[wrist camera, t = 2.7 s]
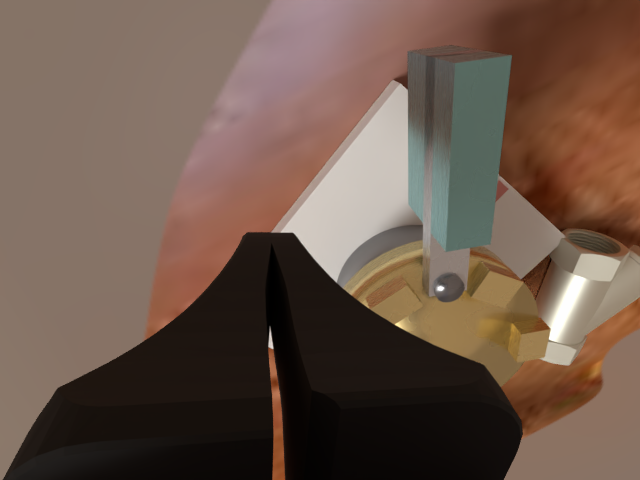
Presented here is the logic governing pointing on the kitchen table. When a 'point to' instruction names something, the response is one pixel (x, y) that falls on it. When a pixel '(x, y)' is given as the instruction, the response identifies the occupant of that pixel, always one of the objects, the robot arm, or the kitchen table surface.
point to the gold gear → (456, 220)
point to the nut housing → (394, 202)
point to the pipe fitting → (585, 289)
